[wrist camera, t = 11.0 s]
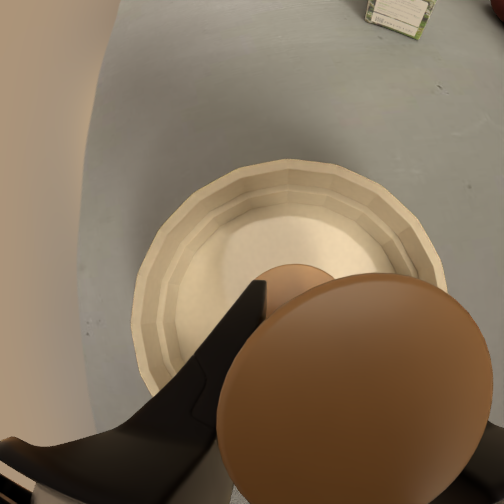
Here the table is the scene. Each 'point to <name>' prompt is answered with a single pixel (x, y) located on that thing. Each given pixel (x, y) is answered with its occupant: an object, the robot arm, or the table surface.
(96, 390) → the table surface
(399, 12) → the syrup box
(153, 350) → the bowl
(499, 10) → the potato
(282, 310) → the tan wooden tall post
